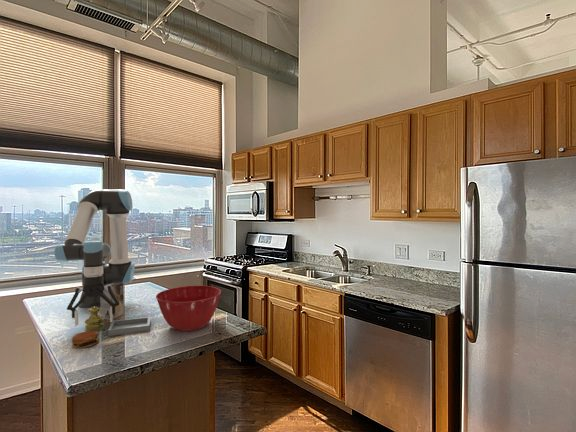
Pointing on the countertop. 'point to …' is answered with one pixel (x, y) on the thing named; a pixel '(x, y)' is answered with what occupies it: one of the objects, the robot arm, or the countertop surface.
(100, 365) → the countertop surface
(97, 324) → the brass door knob
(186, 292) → the mixing bowl
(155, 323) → the countertop surface
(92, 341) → the burger
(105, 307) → the coffee box
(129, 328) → the tray
